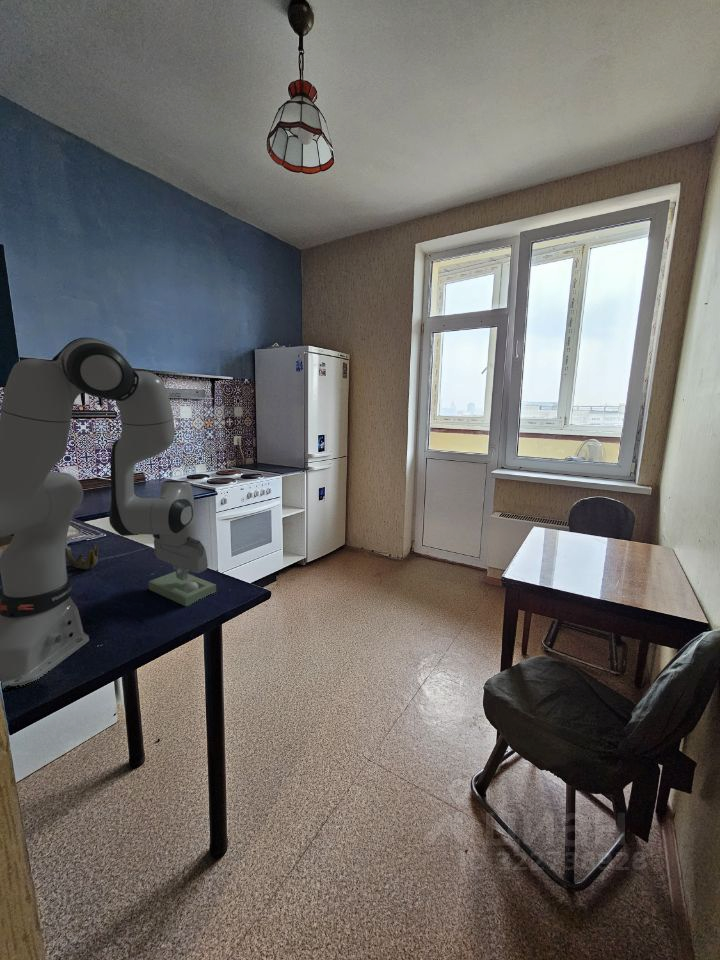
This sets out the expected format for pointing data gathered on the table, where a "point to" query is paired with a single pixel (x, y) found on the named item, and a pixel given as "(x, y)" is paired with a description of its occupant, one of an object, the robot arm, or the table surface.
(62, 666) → the table surface
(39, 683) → the table surface
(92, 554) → the jawbone
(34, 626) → the robot arm
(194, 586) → the ball
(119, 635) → the table surface
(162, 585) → the putting board
